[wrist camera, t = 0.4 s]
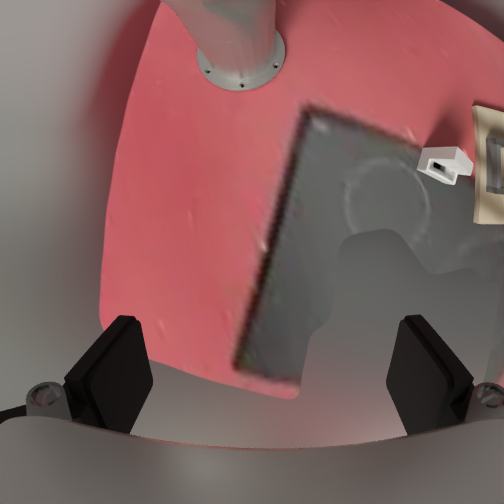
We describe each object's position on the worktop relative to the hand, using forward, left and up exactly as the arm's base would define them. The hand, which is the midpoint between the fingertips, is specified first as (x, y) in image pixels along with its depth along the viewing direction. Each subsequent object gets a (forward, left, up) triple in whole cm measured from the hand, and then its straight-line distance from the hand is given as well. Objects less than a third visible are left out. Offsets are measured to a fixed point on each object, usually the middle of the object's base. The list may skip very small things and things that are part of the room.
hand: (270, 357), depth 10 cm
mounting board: (-7, +42, -35) cm, 55 cm away
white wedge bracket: (-6, +26, -35) cm, 44 cm away
